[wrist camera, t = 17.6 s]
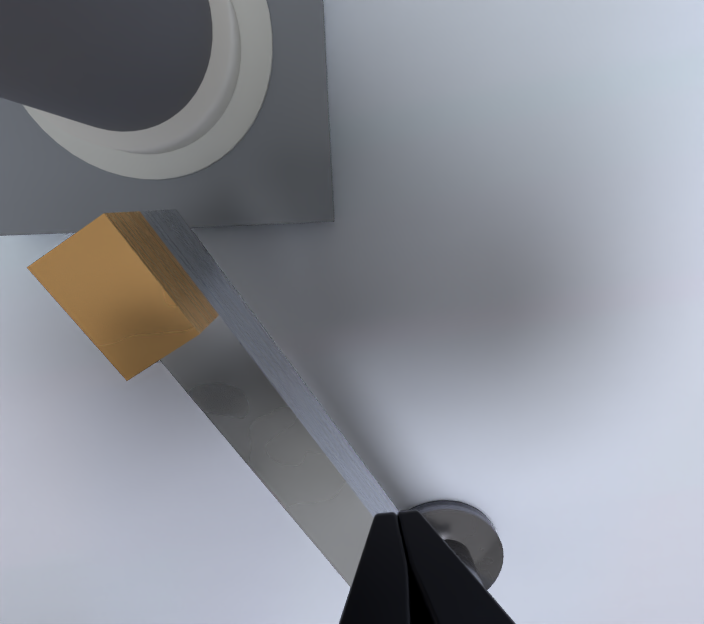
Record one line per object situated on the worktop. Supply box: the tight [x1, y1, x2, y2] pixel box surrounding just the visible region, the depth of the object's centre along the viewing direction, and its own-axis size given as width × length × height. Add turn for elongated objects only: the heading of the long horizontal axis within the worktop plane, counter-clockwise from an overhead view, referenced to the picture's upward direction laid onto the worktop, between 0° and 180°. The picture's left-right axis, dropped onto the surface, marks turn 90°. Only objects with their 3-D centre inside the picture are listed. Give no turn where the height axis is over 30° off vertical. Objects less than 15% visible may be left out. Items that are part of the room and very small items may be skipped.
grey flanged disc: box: [410, 501, 503, 590], centre depth 15 cm, size 5×5×3 cm
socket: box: [0, 0, 334, 236], centre depth 11 cm, size 10×10×1 cm
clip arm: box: [27, 209, 399, 587], centre depth 10 cm, size 18×3×3 cm, turn 32°
